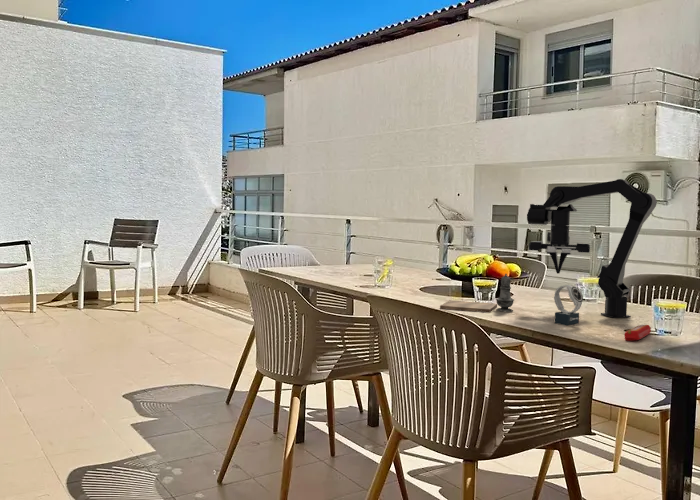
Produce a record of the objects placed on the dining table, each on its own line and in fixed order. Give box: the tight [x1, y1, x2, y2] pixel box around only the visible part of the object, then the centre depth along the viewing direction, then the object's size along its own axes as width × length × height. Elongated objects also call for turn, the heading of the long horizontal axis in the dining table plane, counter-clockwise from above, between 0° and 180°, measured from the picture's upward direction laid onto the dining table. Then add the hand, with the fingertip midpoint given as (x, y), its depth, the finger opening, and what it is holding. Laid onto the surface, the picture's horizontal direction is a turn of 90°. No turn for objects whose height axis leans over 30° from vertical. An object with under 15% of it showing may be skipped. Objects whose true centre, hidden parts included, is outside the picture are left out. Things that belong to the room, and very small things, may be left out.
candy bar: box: [623, 324, 652, 342], centre depth 172 cm, size 16×4×3 cm, turn 143°
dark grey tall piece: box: [495, 273, 515, 313], centre depth 213 cm, size 6×6×12 cm
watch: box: [553, 284, 584, 326], centre depth 190 cm, size 6×8×11 cm
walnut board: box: [439, 299, 498, 313], centre depth 217 cm, size 16×14×1 cm
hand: (558, 273), depth 216 cm, fingers closed
